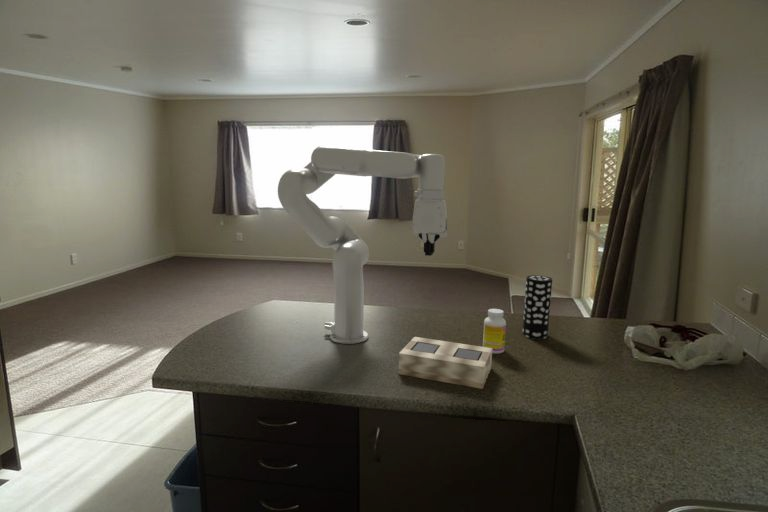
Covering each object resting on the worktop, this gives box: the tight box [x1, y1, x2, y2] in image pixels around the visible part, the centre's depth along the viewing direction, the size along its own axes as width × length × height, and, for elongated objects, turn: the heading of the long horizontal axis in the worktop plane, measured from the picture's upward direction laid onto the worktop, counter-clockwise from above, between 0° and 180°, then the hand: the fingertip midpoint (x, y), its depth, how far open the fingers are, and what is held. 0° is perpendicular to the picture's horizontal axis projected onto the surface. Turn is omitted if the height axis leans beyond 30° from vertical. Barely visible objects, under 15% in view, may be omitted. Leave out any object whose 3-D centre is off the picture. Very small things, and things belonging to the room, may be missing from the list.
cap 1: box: [412, 343, 439, 354], centre depth 135 cm, size 6×6×4 cm
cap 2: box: [455, 349, 481, 361], centre depth 131 cm, size 6×6×4 cm
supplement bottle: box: [482, 308, 507, 355], centre depth 148 cm, size 7×7×13 cm
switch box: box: [397, 336, 493, 390], centre depth 133 cm, size 23×14×6 cm, turn 69°
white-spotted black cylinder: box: [522, 274, 553, 340], centre depth 162 cm, size 8×8×20 cm
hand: (428, 254), depth 148 cm, fingers closed
